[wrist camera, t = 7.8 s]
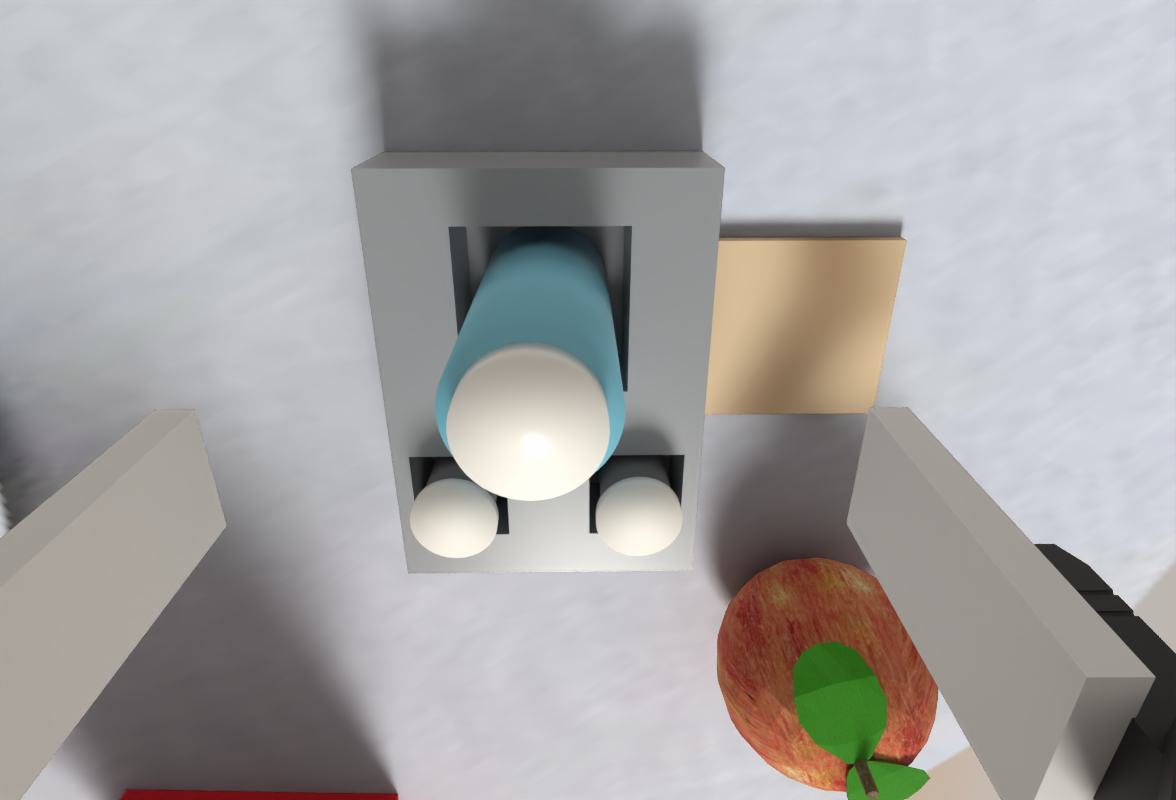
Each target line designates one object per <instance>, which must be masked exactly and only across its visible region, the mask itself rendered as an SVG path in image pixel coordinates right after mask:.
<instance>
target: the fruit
mask: <svg viewBox="0 0 1176 800" xmlns="http://www.w3.org/2000/svg"><path fill="white" fill-rule="evenodd" d="M717 675H718V682H719V685H720V688H721V691H722V694H723V697H724V700H725V703H726V706H727V709H728V712H729V715H730V718H731V720H732V722H733V723H734V725H735V727H736V728H737V730H738V731H739V733H740V734H741V736H742V737H743V738H744V739H745V740H746V741H747V742H748V743H749V744H750V745H751V746H752V748H753V749H754V750H755V751H756V752H757V753H758V754H759V755H760V756H761V757H762V758H763V759H764V760H765V761H766V762H767V764H769V765H770V766H772V767H773V768H775V769H776V770H778V771H779V772H781V773H782V774H784V775H785V776H787V777H788V778H791V779H793V780H796V781H798V782H801V783H803V784H806V785H809V786H811V787H814V788H818V789H822V790H826V791H843V792H847V798H848V800H904V799H906V798H909V797H910V796H912V795H913V794H914V793H916V792H917V791H918V790H919V789H921V788H922V786H923V785H924V784H925V783H926V782H927V781H928V780H929V779H930V777H929V776H928V775H927V773H926V772H925V771H924V770H921V769H916V768H912V767H908V765H910V764H911V763H912V762H913V760H914V759H915V758H916V756H917V755H918V753H919V752H920V751H921V749H922V748H923V747H924V745H925V744H926V743H927V741H928V738H929V735H930V732H931V729H932V726H933V724H934V721H935V715H936V708H937V701H938V686H937V684H936V683H935V681H934V679H933V677H932V676H931V674H930V672H929V670H928V668H927V667H926V665H925V663H924V661H923V659H922V658H921V656H920V654H919V652H918V650H917V649H916V647H915V645H914V643H913V642H912V640H911V638H910V636H909V634H908V633H907V631H906V629H905V627H904V625H903V624H902V622H901V620H900V618H899V617H898V615H897V613H896V611H895V609H894V608H893V606H892V604H891V602H890V600H889V599H888V597H887V595H886V593H885V592H884V590H883V588H882V586H881V584H880V583H879V581H878V579H877V578H875V577H873V576H871V575H870V574H868V573H866V572H864V571H862V570H860V569H859V568H857V567H855V566H853V565H849V564H845V563H842V562H838V561H834V560H830V559H827V558H817V557H815V558H805V559H794V560H784V561H781V562H779V563H777V564H775V565H773V566H771V567H769V568H767V569H765V570H763V571H761V572H759V573H757V574H756V575H755V576H754V577H753V578H751V579H750V580H749V581H748V582H747V583H746V584H745V585H744V586H743V587H742V589H741V590H740V591H739V592H738V594H737V595H736V596H735V597H734V599H733V600H732V601H731V602H730V604H729V605H728V608H727V610H726V612H725V615H724V618H723V621H722V625H721V628H720V631H719V634H718V640H717Z"/></svg>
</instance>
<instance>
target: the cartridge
mask: <svg viewBox="0 0 1176 800" xmlns="http://www.w3.org/2000/svg"><path fill="white" fill-rule="evenodd" d="M435 415H436V420H437V426H438V429H439V432H440V435H441V437H442V439H443V441H444V443H445V445H446V447H447V449H448V450H449V452H450V453H451V455H452V456H453V457H454V459H455V461H456V462H457V464H458V465H459V466H460V468H461V469H462V470H463V471H464V473H465V474H466V475H467V476H468V477H469V478H470V479H472V480H473V481H474V482H475V483H477V484H478V485H479V486H481V487H482V488H484V489H486V490H488V491H490V492H492V493H494V494H497V495H499V496H502V497H506V498H510V499H515V500H522V501H537V500H546V499H551V498H555V497H558V496H561V495H564V494H566V493H568V492H570V491H572V490H574V489H576V488H577V487H579V486H580V485H582V484H583V483H584V482H586V481H587V480H588V479H589V478H590V477H591V476H592V475H593V474H594V473H595V472H596V471H598V470H599V469H600V468H601V467H602V466H603V465H604V464H605V463H606V461H607V460H608V459H609V458H610V456H611V455H612V453H613V452H614V450H615V448H616V447H617V445H618V442H619V440H620V438H621V435H622V431H623V427H624V422H625V400H624V393H623V386H622V379H621V373H620V366H619V359H618V352H617V345H616V338H615V331H614V324H613V317H612V310H611V304H610V297H609V290H608V283H607V276H606V270H605V266H604V263H603V260H602V258H601V256H600V254H599V252H598V250H597V249H596V247H595V246H594V245H593V244H592V243H591V241H590V240H589V239H588V238H586V237H585V236H584V235H583V234H581V233H580V232H578V231H577V230H575V229H573V228H571V227H569V226H522V227H520V228H518V229H516V230H514V231H513V232H511V233H510V234H509V235H507V236H506V237H505V238H504V239H503V240H502V241H501V242H500V243H499V245H498V246H497V247H496V249H495V251H494V252H493V254H492V256H491V259H490V261H489V263H488V266H487V268H486V271H485V273H484V275H483V278H482V280H481V283H480V285H479V288H478V290H477V292H476V295H475V297H474V300H473V302H472V304H471V307H470V309H469V312H468V314H467V316H466V319H465V321H464V324H463V326H462V328H461V331H460V333H459V336H458V338H457V340H456V343H455V345H454V348H453V350H452V352H451V355H450V357H449V360H448V362H447V364H446V367H445V369H444V372H443V374H442V377H441V379H440V381H439V385H438V389H437V392H436V400H435Z"/></svg>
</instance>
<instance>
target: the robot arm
mask: <svg viewBox="0 0 1176 800" xmlns="http://www.w3.org/2000/svg"><path fill="white" fill-rule="evenodd" d="M846 524H847V525H848V527H849V529H850V531H851V533H852V534H853V536H854V538H855V540H856V542H857V543H858V545H859V547H860V549H861V550H862V552H863V554H864V556H865V558H866V559H867V561H868V563H869V565H870V567H871V568H872V570H873V572H874V574H875V575H876V577H877V579H878V581H879V583H880V584H881V586H882V588H883V590H884V592H885V593H886V595H887V597H888V599H889V600H890V602H891V604H892V606H893V608H894V609H895V611H896V613H897V615H898V617H899V618H900V620H901V622H902V624H903V625H904V627H905V629H906V631H907V633H908V634H909V636H910V638H911V640H912V642H913V643H914V645H915V647H916V649H917V650H918V652H919V654H920V656H921V658H922V659H923V661H924V663H925V665H926V667H927V668H928V670H929V672H930V674H931V676H932V677H933V679H934V681H935V683H936V684H937V686H938V688H939V690H940V692H941V693H942V695H943V697H944V699H945V701H946V702H947V704H948V706H949V708H950V709H951V711H952V713H953V715H954V717H955V718H956V720H957V722H958V724H959V726H960V727H961V729H962V731H963V733H964V734H965V736H966V738H967V740H968V742H969V743H970V745H971V747H972V749H973V750H974V752H975V754H976V756H977V758H978V759H979V761H980V763H981V765H982V766H983V768H984V770H985V772H986V774H987V776H988V777H989V779H990V781H991V783H992V784H993V786H994V788H995V790H996V792H997V793H998V795H999V797H1000V799H1001V800H1176V654H1175V653H1174V652H1173V650H1171V648H1169V646H1168V645H1166V644H1165V642H1164V641H1163V640H1161V638H1159V636H1158V635H1157V634H1156V633H1155V632H1154V631H1153V630H1152V629H1151V628H1150V627H1149V626H1148V625H1147V624H1146V623H1145V622H1144V621H1143V620H1142V619H1141V618H1140V617H1139V616H1134V614H1133V610H1132V609H1131V608H1130V607H1129V606H1128V605H1127V604H1126V603H1125V602H1124V601H1123V600H1122V599H1121V598H1120V597H1119V596H1118V595H1114V594H1113V590H1112V589H1111V588H1110V587H1109V586H1108V585H1107V584H1106V583H1105V582H1104V581H1103V580H1102V579H1101V578H1100V577H1099V575H1098V574H1097V573H1096V572H1095V571H1094V570H1093V569H1092V568H1091V567H1090V566H1089V565H1087V564H1086V563H1084V562H1082V561H1081V560H1079V559H1078V558H1076V557H1074V556H1073V555H1071V554H1070V553H1068V552H1066V551H1065V550H1063V549H1061V548H1060V547H1058V546H1057V545H1055V544H1033V543H1032V542H1031V541H1030V540H1029V538H1028V537H1027V536H1026V535H1025V534H1024V533H1023V532H1022V531H1021V530H1020V529H1019V528H1018V526H1017V525H1016V524H1015V523H1014V522H1013V521H1012V520H1011V519H1010V518H1009V517H1008V516H1007V514H1006V513H1005V512H1004V511H1003V510H1002V509H1001V508H1000V507H999V506H998V505H997V504H996V502H995V501H994V500H993V499H992V498H991V497H990V496H989V495H988V494H987V493H986V492H985V490H984V489H983V488H982V487H981V486H980V485H979V484H978V483H977V482H976V481H975V480H974V478H973V477H972V476H971V475H970V474H969V473H968V472H967V471H966V470H965V469H964V468H963V467H962V465H961V464H960V463H959V462H958V461H957V460H956V459H955V458H954V457H953V456H952V455H951V453H950V452H949V451H948V450H947V449H946V448H945V447H944V446H943V445H942V444H941V443H940V441H939V440H938V439H937V438H936V437H935V436H934V435H933V434H932V433H931V432H930V431H929V429H928V428H927V427H926V426H925V425H924V424H923V423H922V422H921V421H920V420H919V419H918V417H917V416H916V415H915V414H914V413H913V412H912V411H911V410H910V409H909V408H869V411H868V416H867V421H866V426H865V432H864V437H863V442H862V447H861V452H860V457H859V462H858V467H857V472H856V477H855V482H854V488H853V493H852V498H851V503H850V508H849V513H848V518H847V523H846ZM226 526H227V525H226V521H225V517H224V514H223V510H222V507H221V503H220V499H219V496H218V492H217V488H216V485H215V481H214V477H213V474H212V470H211V467H210V463H209V459H208V456H207V452H206V448H205V445H204V441H203V438H202V434H201V430H200V427H199V423H198V419H197V416H196V412H195V410H154V411H153V412H152V413H151V414H149V415H148V416H147V417H146V418H145V419H143V420H142V421H141V422H140V423H139V424H137V425H136V426H135V427H134V428H133V429H131V430H130V431H129V432H128V433H127V434H125V435H124V436H123V437H122V438H121V439H119V440H118V441H117V442H116V443H115V444H113V445H112V446H111V447H110V448H109V449H107V450H106V451H105V452H104V453H103V454H101V455H100V456H99V457H98V458H97V459H95V460H94V461H93V462H92V463H91V464H89V465H88V466H87V467H86V468H85V469H83V470H82V471H81V472H80V473H79V474H77V475H76V476H75V477H74V478H73V479H71V480H70V481H69V482H68V483H67V484H65V485H64V486H63V487H62V488H61V489H59V490H58V491H57V492H56V493H55V494H53V495H52V496H51V497H50V498H49V499H47V500H46V501H45V502H44V503H43V504H41V505H40V506H39V507H38V508H36V509H35V510H34V511H33V512H32V513H30V514H29V515H28V516H27V517H26V518H24V519H23V520H22V521H21V522H20V523H18V524H17V525H16V526H15V527H14V528H12V529H11V530H10V531H9V532H8V533H6V534H5V535H4V536H3V537H2V538H0V800H20V799H21V798H22V797H23V795H24V794H25V793H26V791H27V790H28V789H29V787H30V786H31V785H32V783H33V782H34V781H35V779H36V778H37V777H38V775H39V774H40V773H41V772H42V770H43V769H44V768H45V766H46V765H47V764H48V762H49V761H50V760H51V758H52V757H53V756H54V754H55V753H56V752H57V750H58V749H59V748H60V746H61V745H62V744H63V742H64V741H65V740H66V738H67V737H68V736H69V734H70V733H71V732H72V730H73V729H74V728H75V726H76V725H77V724H78V722H79V721H80V720H81V718H82V717H83V716H84V715H85V713H86V712H87V711H88V709H89V708H90V707H91V705H92V704H93V703H94V701H95V700H96V699H97V697H98V696H99V695H100V693H101V692H102V691H103V689H104V688H105V687H106V685H107V684H108V683H109V681H110V680H111V679H112V677H113V676H114V675H115V673H116V672H117V671H118V669H119V668H120V667H121V665H122V664H123V663H124V661H125V660H126V659H127V658H128V656H129V655H130V654H131V652H132V651H133V650H134V648H135V647H136V646H137V644H138V643H139V642H140V640H141V639H142V638H143V636H144V635H145V634H146V632H147V631H148V630H149V628H150V627H151V626H152V624H153V623H154V622H155V620H156V619H157V618H158V616H159V615H160V614H161V612H162V611H163V610H164V608H165V607H166V606H167V604H168V603H169V602H170V600H171V599H172V598H173V597H174V595H175V594H176V593H177V591H178V590H179V589H180V587H181V586H182V585H183V583H184V582H185V581H186V579H187V578H188V577H189V575H190V574H191V573H192V571H193V570H194V569H195V567H196V566H197V565H198V563H199V562H200V561H201V559H202V558H203V557H204V555H205V554H206V553H207V551H208V550H209V549H210V547H211V546H212V545H213V543H214V542H215V541H216V540H217V538H218V537H219V536H220V534H221V533H222V532H223V530H224V529H225V528H226Z"/></svg>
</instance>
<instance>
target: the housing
mask: <svg viewBox="0 0 1176 800" xmlns="http://www.w3.org/2000/svg"><path fill="white" fill-rule="evenodd" d="M724 172H725V167H723V166H722V165H721V164H719V163H718V162H716V161H715V160H714V159H712V158H711V157H710V156H708V155H707V154H706V153H704V152H703V151H619V152H383V153H381V154H379V155H377V156H375V157H373V158H371V159H369V160H367V161H365V162H363V163H361V164H359V165H357V166H355V167H353V168H351V173H352V180H353V187H354V194H355V201H356V208H357V215H358V222H359V229H360V236H361V243H362V251H363V258H364V265H365V272H366V279H367V286H368V293H369V300H370V307H371V314H372V321H373V328H374V335H375V343H376V350H377V357H378V364H379V371H380V378H381V385H382V392H383V399H384V406H385V413H386V420H387V428H388V435H389V442H390V449H391V456H392V463H393V470H394V477H395V484H396V491H397V498H398V505H399V513H400V520H401V527H402V534H403V541H404V548H405V555H406V562H407V569H408V573H490V572H580V571H670V570H692V566H693V553H694V541H695V529H696V516H697V504H698V492H699V480H700V467H701V455H702V443H703V430H704V418H705V406H706V393H707V381H708V369H709V356H710V344H711V332H712V319H713V307H714V295H715V282H716V270H717V258H718V245H719V233H720V221H721V208H722V196H723V184H724ZM522 226H569V227H571V228H573V229H575V230H577V231H578V232H580V233H581V234H583V235H584V236H585V237H586V238H588V239H589V240H590V241H591V243H592V244H593V245H594V246H595V247H596V249H597V250H598V252H599V254H600V256H601V258H602V260H603V263H604V266H605V270H606V276H607V283H608V290H609V297H610V304H611V310H612V317H613V324H614V331H615V338H616V345H617V352H618V359H619V366H620V373H621V379H622V386H623V393H624V400H625V422H624V427H623V431H622V435H621V438H620V440H619V442H618V445H617V447H616V448H615V450H614V452H613V453H612V455H663V456H664V461H665V465H666V470H667V474H668V479H669V483H670V488H671V489H672V490H673V491H674V493H675V494H676V495H677V497H678V499H679V502H680V506H681V511H682V516H683V521H682V527H681V530H680V532H679V534H678V536H677V537H676V539H675V540H674V541H673V542H672V543H671V544H670V545H669V546H667V547H666V548H665V549H663V550H661V551H659V552H656V553H654V554H650V555H645V556H630V555H625V554H621V553H619V552H616V551H615V550H613V549H611V548H610V547H608V546H607V545H606V544H605V543H604V542H603V540H602V539H601V538H600V536H599V534H598V531H597V527H596V506H597V503H598V501H599V499H600V483H599V470H598V471H596V472H595V473H594V474H593V475H592V476H591V477H590V478H589V479H588V480H587V481H586V482H584V483H583V484H582V485H580V486H579V487H577V488H576V489H574V490H572V491H570V492H568V493H566V494H564V495H561V496H558V497H555V498H551V499H546V500H537V501H522V500H515V499H510V498H506V497H502V496H499V495H497V499H496V505H497V508H498V512H499V520H498V526H497V532H496V535H495V537H494V539H493V541H492V542H491V544H490V545H489V546H488V547H487V548H486V549H484V550H483V551H481V552H480V553H478V554H475V555H473V556H469V557H464V558H449V557H444V556H440V555H437V554H435V553H433V552H431V551H429V550H428V549H426V548H425V547H424V546H422V545H421V544H420V543H419V542H418V540H417V539H416V538H415V536H414V534H413V532H412V530H411V526H410V514H411V510H412V507H413V504H414V502H415V499H416V497H417V496H418V494H419V493H420V492H421V491H422V490H423V489H424V488H425V487H426V485H427V482H428V479H429V476H430V473H431V470H432V468H433V465H434V462H435V459H436V457H453V456H452V455H451V453H450V452H449V450H448V449H447V447H446V445H445V443H444V441H443V439H442V437H441V435H440V432H439V429H438V426H437V420H436V415H435V400H436V392H437V389H438V385H439V381H440V379H441V377H442V374H443V372H444V369H445V367H446V364H447V362H448V360H449V357H450V355H451V352H452V350H453V348H454V345H455V343H456V340H457V338H458V336H459V333H460V331H461V328H462V326H463V324H464V321H465V319H466V316H467V314H468V312H469V309H470V307H471V304H472V302H473V300H474V297H475V295H476V292H477V290H478V288H479V285H480V283H481V280H482V278H483V275H484V273H485V271H486V268H487V266H488V263H489V261H490V259H491V256H492V254H493V252H494V251H495V249H496V247H497V246H498V245H499V243H500V242H501V241H502V240H503V239H504V238H505V237H506V236H507V235H509V234H510V233H511V232H513V231H514V230H516V229H518V228H520V227H522Z"/></svg>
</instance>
